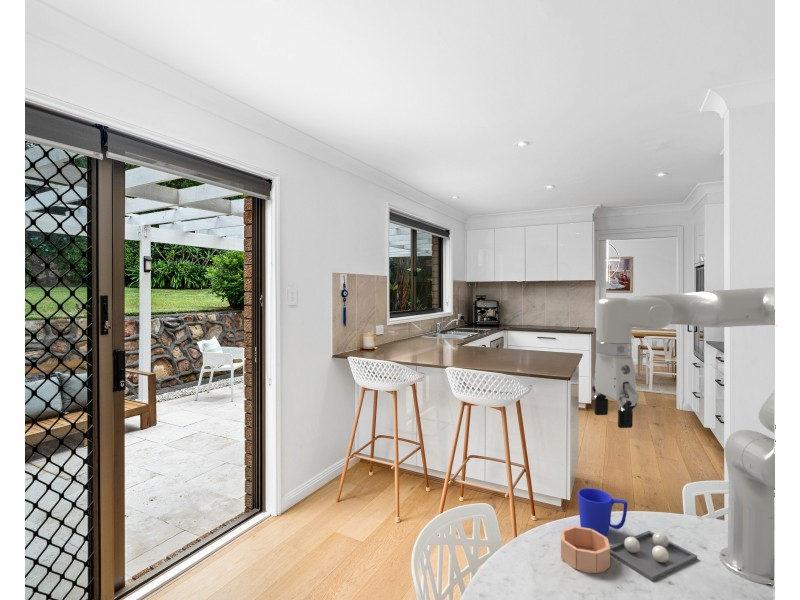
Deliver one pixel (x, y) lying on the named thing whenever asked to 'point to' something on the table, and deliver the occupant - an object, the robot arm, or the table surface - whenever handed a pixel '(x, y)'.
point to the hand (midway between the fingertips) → (612, 420)
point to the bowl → (585, 549)
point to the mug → (598, 510)
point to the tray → (651, 557)
